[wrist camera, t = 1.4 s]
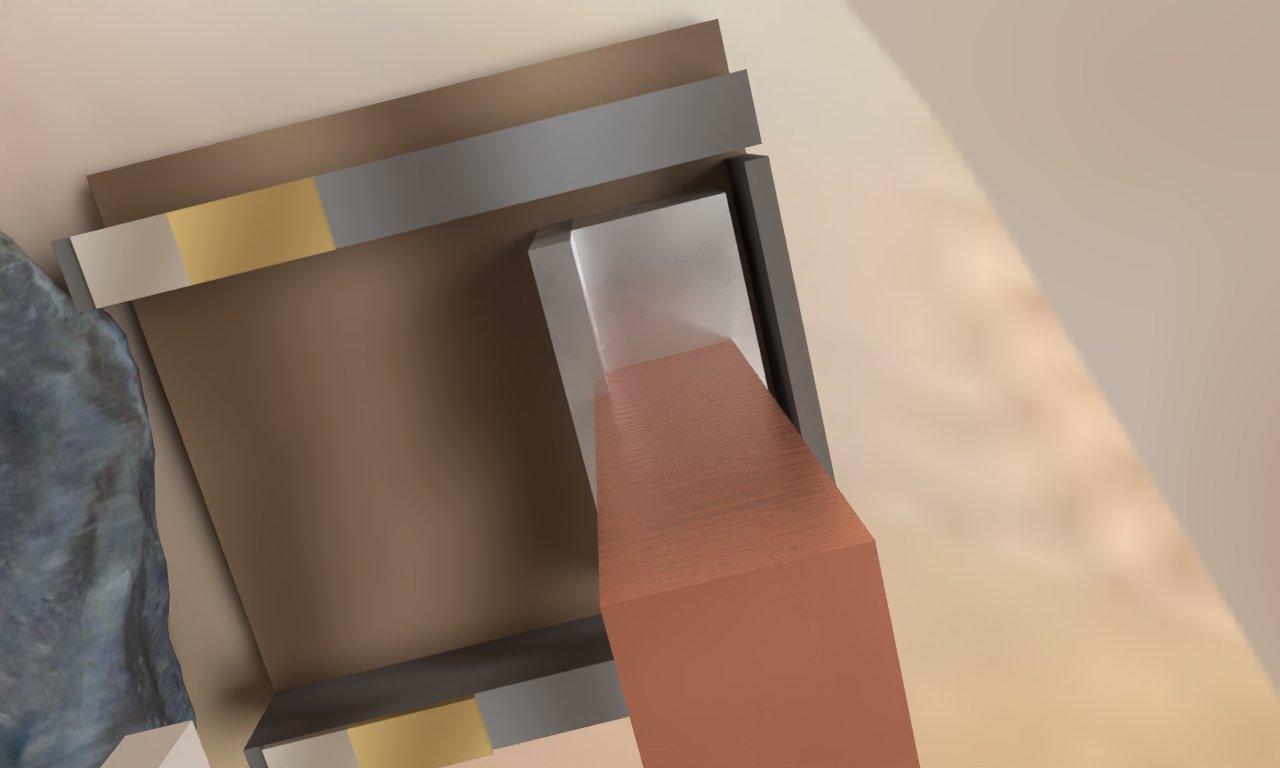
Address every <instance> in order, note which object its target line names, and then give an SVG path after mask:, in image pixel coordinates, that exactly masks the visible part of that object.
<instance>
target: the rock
mask: <svg viewBox="0 0 1280 768" xmlns="http://www.w3.org/2000/svg"><path fill="white" fill-rule="evenodd" d="M154 461H155V450H154V444H153V438H152V432H151V427H150V422H149V417H148V412H147V407H146V403H145V399H144V395H143V390H142V385H141V380H140V371H139V368H138V366H137V364H136V363H135V361H134V359H133V357H132V354H131V352H130V349H129V346H128V341H127V336H126V334H125V333H124V332H123V331H122V329H121V328H120V327H119V326H118V324H117V323H116V322H115V321H114V319H113V318H112V317H111V316H110V315H109V314H108V313H107V312H105V311H104V310H102V309H101V308H98V309H92V310H87V311H83V312H79V313H77V310H76V307H75V305H74V302H73V300H72V297H71V294H70V293H68V292H66V291H65V290H63V289H62V288H60V287H59V286H58V285H57V284H56V283H55V282H54V281H53V280H52V279H51V278H50V277H49V276H48V275H47V274H46V273H45V272H44V271H43V270H42V269H41V268H40V267H39V266H38V265H37V264H36V263H34V262H33V261H32V260H31V259H30V258H29V257H28V256H27V255H26V254H25V253H24V252H23V251H22V250H21V249H20V248H19V247H18V245H17V244H16V243H15V242H14V241H13V240H12V239H11V238H9V237H8V236H6V235H5V234H4V233H2V232H1V231H0V768H100V767H101V766H102V765H103V764H104V762H105V761H106V760H107V759H108V757H109V756H110V755H111V753H112V752H113V751H114V750H115V748H116V747H117V746H118V745H119V743H120V742H121V741H122V740H123V738H124V737H125V736H127V735H131V734H135V733H140V732H144V731H148V730H152V729H157V728H161V727H165V726H169V725H173V724H178V723H182V722H186V721H190V720H192V721H193V724H194V726H195V729H197V727H196V719H195V712H194V709H193V707H192V704H191V701H190V699H189V696H188V693H187V690H186V688H185V685H184V682H183V678H182V673H181V667H180V665H179V662H178V660H177V657H176V655H175V652H174V650H173V647H172V644H171V642H170V639H169V631H168V614H169V597H170V595H169V584H168V573H167V563H166V559H165V556H164V553H163V549H162V546H161V543H160V540H159V535H158V530H157V522H156V515H155V476H154Z"/></svg>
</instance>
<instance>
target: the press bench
mask: <svg viewBox="0 0 1280 768" xmlns="http://www.w3.org/2000/svg"><path fill="white" fill-rule="evenodd" d="M758 144H762V142H761V137H760V133H759V128H758V123H757V118H756V113H755V108H754V103H753V99H752V94H751V89H750V84H749V79H748V74H747V70H746V69H745V70H741V71H737V72H733V73H729V70H728V65H727V60H726V56H725V51H724V46H723V41H722V36H721V32H720V27H719V22H718V19H715V20H711V21H707V22H703V23H699V24H695V25H691V26H687V27H683V28H679V29H675V30H671V31H667V32H663V33H659V34H655V35H651V36H647V37H643V38H639V39H635V40H631V41H627V42H623V43H619V44H615V45H611V46H607V47H603V48H599V49H595V50H591V51H587V52H583V53H579V54H575V55H571V56H567V57H563V58H559V59H555V60H551V61H547V62H543V63H538V64H534V65H530V66H526V67H522V68H518V69H514V70H510V71H506V72H502V73H498V74H494V75H490V76H486V77H482V78H478V79H474V80H470V81H466V82H462V83H458V84H454V85H450V86H446V87H442V88H438V89H434V90H430V91H426V92H422V93H418V94H414V95H410V96H406V97H402V98H398V99H394V100H390V101H386V102H382V103H378V104H374V105H370V106H366V107H362V108H358V109H354V110H349V111H345V112H341V113H337V114H333V115H329V116H325V117H321V118H317V119H313V120H309V121H305V122H301V123H297V124H293V125H289V126H285V127H281V128H277V129H273V130H269V131H265V132H261V133H257V134H253V135H249V136H245V137H241V138H237V139H233V140H229V141H225V142H221V143H217V144H213V145H209V146H205V147H201V148H197V149H193V150H189V151H185V152H181V153H177V154H173V155H169V156H165V157H160V158H156V159H152V160H148V161H144V162H140V163H136V164H132V165H128V166H124V167H120V168H116V169H112V170H108V171H104V172H100V173H96V174H92V175H88V176H86V177H87V179H88V182H89V185H90V188H91V190H92V193H93V196H94V199H95V201H96V204H97V207H98V210H99V212H100V215H101V218H102V221H103V223H104V226H105V228H104V229H100V230H96V231H92V232H88V233H84V234H80V235H76V236H72V237H69V238H64V239H60V240H56V241H52V242H51V244H52V247H53V249H54V252H55V255H56V257H57V260H58V263H59V265H60V268H61V271H62V273H63V276H64V278H65V281H66V284H67V286H68V289H69V292H70V294H71V297H72V300H73V302H74V305H75V307H76V310H77V313H79V312H83V311H87V310H92V309H98V308H102V307H106V306H110V305H114V304H118V303H122V302H126V301H130V300H132V303H133V305H134V308H135V311H136V314H137V316H138V319H139V322H140V325H141V327H142V330H143V333H144V336H145V338H146V341H147V344H148V347H149V349H150V352H151V355H152V357H153V360H154V363H155V366H156V368H157V371H158V374H159V377H160V379H161V382H162V385H163V388H164V390H165V393H166V396H167V399H168V401H169V404H170V407H171V410H172V412H173V415H174V418H175V420H176V423H177V426H178V429H179V431H180V434H181V437H182V440H183V442H184V445H185V448H186V451H187V453H188V456H189V459H190V462H191V464H192V467H193V470H194V473H195V475H196V478H197V481H198V483H199V486H200V489H201V492H202V494H203V497H204V500H205V503H206V505H207V508H208V511H209V514H210V516H211V519H212V522H213V525H214V527H215V530H216V533H217V536H218V538H219V541H220V544H221V546H222V549H223V552H224V555H225V557H226V560H227V563H228V566H229V568H230V571H231V574H232V577H233V579H234V582H235V585H236V588H237V590H238V593H239V596H240V598H241V601H242V604H243V607H244V609H245V612H246V615H247V618H248V620H249V623H250V626H251V629H252V631H253V634H254V637H255V640H256V642H257V645H258V648H259V651H260V653H261V656H262V659H263V661H264V664H265V667H266V670H267V672H268V675H269V678H270V681H271V683H272V686H273V689H274V692H275V694H274V696H273V698H272V700H271V702H270V703H269V705H268V707H267V709H266V711H265V712H264V714H263V716H262V718H261V720H260V721H259V723H258V725H257V727H256V729H255V730H254V732H253V734H252V736H251V738H250V739H249V741H248V743H247V745H246V746H245V748H244V753H245V756H246V758H247V761H248V764H249V766H250V768H439V767H443V766H447V765H452V764H456V763H460V762H464V761H468V760H472V759H476V758H480V757H484V756H488V755H492V750H493V749H498V748H502V747H506V746H510V745H514V744H518V743H522V742H526V741H530V740H534V739H539V738H543V737H547V736H551V735H555V734H559V733H563V732H567V731H571V730H576V729H580V728H584V727H588V726H592V725H596V724H600V723H604V722H608V721H613V720H617V719H621V718H625V717H629V712H628V709H627V705H626V701H625V698H624V694H623V690H622V687H621V683H620V679H619V676H618V672H617V668H616V665H615V661H614V657H613V654H612V650H611V646H610V643H609V639H608V635H607V632H606V628H605V624H604V621H603V617H602V613H601V610H600V590H599V554H598V519H597V509H596V505H595V501H594V497H593V494H592V490H591V486H590V482H589V479H588V475H587V471H586V467H585V464H584V460H583V456H582V452H581V449H580V445H579V441H578V437H577V434H576V430H575V426H574V422H573V419H572V415H571V411H570V407H569V404H568V400H567V396H566V392H565V389H564V385H563V381H562V377H561V374H560V370H559V366H558V362H557V359H556V355H555V351H554V347H553V344H552V340H551V336H550V332H549V329H548V325H547V321H546V317H545V314H544V310H543V306H542V303H541V299H540V295H539V291H538V288H537V284H536V280H535V276H534V273H533V269H532V265H531V261H530V258H529V254H528V250H529V248H530V246H531V244H532V242H533V240H534V238H535V236H536V234H537V232H538V230H539V228H540V227H543V226H547V225H551V224H555V223H559V222H563V221H567V220H571V219H575V218H579V217H583V216H587V215H591V214H595V213H599V212H604V211H608V210H612V209H616V208H620V207H624V206H628V205H632V204H636V203H640V202H644V201H648V200H652V199H656V198H660V197H664V196H668V195H672V194H676V193H680V192H684V191H688V190H692V189H696V188H701V187H705V186H711V187H713V188H715V189H718V190H720V191H722V192H725V193H726V198H727V203H728V207H729V212H730V217H731V221H732V226H733V230H734V235H735V240H736V244H737V249H738V253H739V258H740V263H741V267H742V272H743V276H744V281H745V286H746V290H747V295H748V299H749V304H750V309H751V313H752V318H753V323H754V327H755V332H756V336H757V341H758V346H759V350H760V355H761V359H762V364H763V369H764V373H765V378H766V382H767V387H768V390H769V392H770V393H771V395H772V396H773V397H774V399H775V400H776V402H777V403H778V404H779V406H780V407H781V409H782V410H783V412H784V413H785V414H786V416H787V417H788V419H789V420H790V421H791V423H792V424H793V426H794V427H795V428H796V430H797V431H798V433H799V434H800V436H801V437H802V438H803V440H804V441H805V443H806V444H807V445H808V447H809V448H810V450H811V451H812V452H813V454H814V455H815V457H816V458H817V459H818V461H819V462H820V464H821V465H822V467H823V468H824V469H825V471H826V472H827V474H828V475H829V476H830V478H831V479H832V481H833V482H834V483H835V478H834V474H833V469H832V464H831V459H830V454H829V449H828V444H827V439H826V435H825V430H824V425H823V420H822V415H821V410H820V405H819V400H818V396H817V391H816V386H815V381H814V376H813V371H812V366H811V361H810V357H809V352H808V347H807V342H806V337H805V332H804V327H803V322H802V318H801V313H800V308H799V303H798V298H797V293H796V288H795V283H794V279H793V274H792V269H791V264H790V259H789V254H788V249H787V244H786V240H785V235H784V230H783V225H782V220H781V215H780V210H779V205H778V201H777V196H776V191H775V186H774V181H773V176H772V171H771V166H770V162H769V157H768V156H763V155H755V154H746V151H745V148H746V147H750V146H754V145H758ZM835 485H836V483H835Z"/></svg>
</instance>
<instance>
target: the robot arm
mask: <svg viewBox="0 0 1280 768" xmlns="http://www.w3.org/2000/svg"><path fill="white" fill-rule="evenodd" d="M100 768H210V765H209V763H208V760H207V757H206V755H205V752H204V750H203V747H202V745H201V742H200V739H199V737H198V734H197V732H196V729H195V726H194V724H193V721H192V720H190V721H186V722H182V723H178V724H173V725H169V726H165V727H161V728H157V729H152V730H148V731H144V732H140V733H135V734H131V735H127V736H125V737H124V738H123V740H122V741H121V742H120V743H119V745H118V746H117V747H116V748H115V750H114V751H113V752H112V753H111V755H110V756H109V757H108V759H107V760H106V761H105V762H104V764H103V765H102V766H101V767H100Z"/></svg>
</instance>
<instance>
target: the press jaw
mask: <svg viewBox="0 0 1280 768" xmlns="http://www.w3.org/2000/svg"><path fill="white" fill-rule="evenodd" d="M528 254H529V258H530V261H531V265H532V269H533V273H534V276H535V280H536V284H537V288H538V291H539V295H540V299H541V303H542V306H543V310H544V314H545V317H546V321H547V325H548V329H549V332H550V336H551V340H552V344H553V347H554V351H555V355H556V359H557V362H558V366H559V370H560V374H561V377H562V381H563V385H564V389H565V392H566V396H567V400H568V404H569V407H570V411H571V415H572V419H573V422H574V426H575V430H576V434H577V437H578V441H579V445H580V449H581V452H582V456H583V460H584V464H585V467H586V471H587V475H588V479H589V482H590V486H591V490H592V494H593V497H594V501H595V505H596V509H597V519H598V554H599V590H600V610H601V613H602V617H603V621H604V624H605V628H606V632H607V635H608V639H609V643H610V646H611V650H612V654H613V657H614V661H615V665H616V668H617V672H618V676H619V679H620V683H621V687H622V690H623V694H624V698H625V701H626V705H627V709H628V712H629V716H630V720H631V723H632V727H633V731H634V734H635V738H636V742H637V745H638V749H639V753H640V756H641V760H642V764H643V767H644V768H920V765H919V760H918V755H917V750H916V745H915V740H914V735H913V730H912V725H911V720H910V715H909V710H908V705H907V700H906V695H905V690H904V685H903V679H902V674H901V669H900V664H899V659H898V654H897V649H896V644H895V639H894V634H893V629H892V624H891V619H890V614H889V609H888V604H887V599H886V594H885V589H884V584H883V579H882V573H881V568H880V563H879V558H878V553H877V548H876V543H875V540H874V538H873V537H872V536H871V534H870V533H869V531H868V530H867V529H866V527H865V526H864V524H863V523H862V522H861V520H860V519H859V517H858V516H857V514H856V513H855V512H854V510H853V509H852V507H851V506H850V505H849V503H848V502H847V500H846V499H845V498H844V496H843V495H842V493H841V492H840V490H839V489H838V488H837V486H836V485H835V483H834V482H833V481H832V479H831V478H830V476H829V475H828V474H827V472H826V471H825V469H824V468H823V467H822V465H821V464H820V462H819V461H818V459H817V458H816V457H815V455H814V454H813V452H812V451H811V450H810V448H809V447H808V445H807V444H806V443H805V441H804V440H803V438H802V437H801V436H800V434H799V433H798V431H797V430H796V428H795V427H794V426H793V424H792V423H791V421H790V420H789V419H788V417H787V416H786V414H785V413H784V412H783V410H782V409H781V407H780V406H779V404H778V403H777V402H776V400H775V399H774V397H773V396H772V395H771V393H770V392H769V390H768V387H767V382H766V378H765V373H764V369H763V364H762V359H761V355H760V350H759V346H758V341H757V336H756V332H755V327H754V323H753V318H752V313H751V309H750V304H749V299H748V295H747V290H746V286H745V281H744V276H743V272H742V267H741V263H740V258H739V253H738V249H737V244H736V240H735V235H734V230H733V226H732V221H731V217H730V212H729V207H728V203H727V198H726V193H725V192H722V191H720V190H718V189H715V188H713V187H711V186H705V187H701V188H696V189H692V190H688V191H684V192H680V193H676V194H672V195H668V196H664V197H660V198H656V199H652V200H648V201H644V202H640V203H636V204H632V205H628V206H624V207H620V208H616V209H612V210H608V211H604V212H599V213H595V214H591V215H587V216H583V217H579V218H575V219H571V220H567V221H563V222H559V223H555V224H551V225H547V226H543V227H540V228H539V230H538V232H537V234H536V236H535V238H534V240H533V242H532V244H531V246H530V248H529V250H528Z"/></svg>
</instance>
